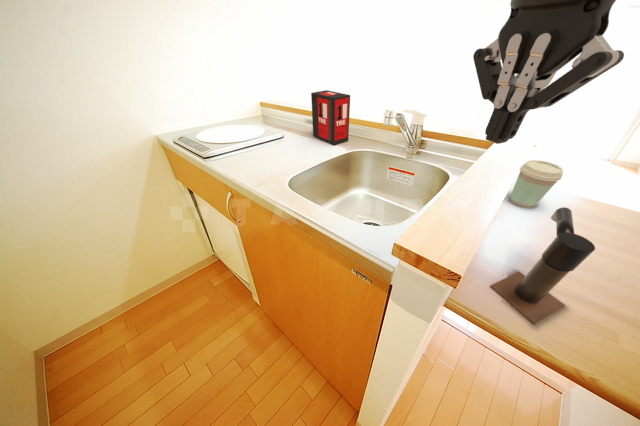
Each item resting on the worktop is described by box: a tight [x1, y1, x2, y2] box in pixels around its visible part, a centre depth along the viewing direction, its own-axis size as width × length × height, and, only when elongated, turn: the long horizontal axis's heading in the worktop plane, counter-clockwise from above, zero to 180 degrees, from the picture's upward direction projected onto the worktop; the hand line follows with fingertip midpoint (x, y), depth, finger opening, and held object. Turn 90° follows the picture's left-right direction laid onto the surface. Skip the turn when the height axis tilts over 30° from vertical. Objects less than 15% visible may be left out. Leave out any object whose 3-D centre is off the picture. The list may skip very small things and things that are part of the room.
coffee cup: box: [508, 159, 564, 209], centre depth 62 cm, size 9×8×12 cm
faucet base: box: [489, 256, 571, 326], centre depth 39 cm, size 8×8×10 cm
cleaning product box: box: [310, 89, 351, 146], centre depth 107 cm, size 16×9×20 cm, turn 37°
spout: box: [541, 207, 596, 272], centre depth 38 cm, size 15×4×4 cm, turn 142°
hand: (496, 141), depth 28 cm, fingers closed
